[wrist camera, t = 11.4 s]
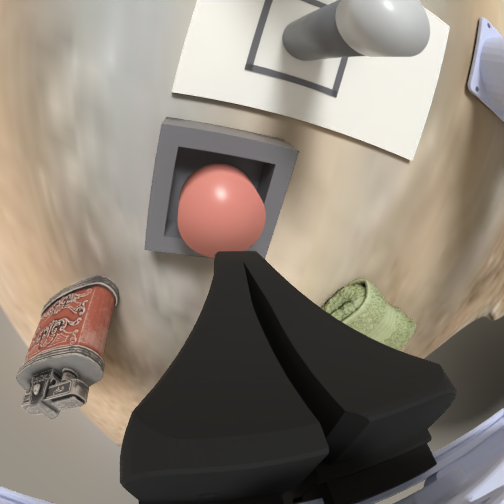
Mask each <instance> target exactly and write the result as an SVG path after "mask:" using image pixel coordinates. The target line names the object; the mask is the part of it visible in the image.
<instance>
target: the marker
mask: <svg viewBox="0 0 504 504" xmlns="http://www.w3.org/2000/svg"><path fill="white" fill-rule="evenodd" d="M429 37H430V24H429V19H428V16H427V14H426V11H425V9H424V7H423V6H422V4H421V3H420V1H419V0H338V1H335V2H333V3H331V4H328V5H326V6H324V7H322V8H320V9H317V10H315V11H313V12H311V13H309V14H307V15H305V16H303V17H301V18H299V19H297V20H295V21H293V22H291V23H290V24H288V25H287V26H286V28H285V29H284V32H283V36H282V40H283V44H284V47H285V49H286V50H287V52H288V53H289V54H290V55H292V56H293V57H294V58H296V59H299V60H303V61H311V60H320V59H329V58H341V57H356V56H369V57H412V56H416V55H418V54H420V53H421V52H422V51H423V50H424V49H425V47H426V46H427V44H428V41H429Z"/></svg>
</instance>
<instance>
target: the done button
mask: <svg viewBox="0 0 504 504" xmlns="http://www.w3.org/2000/svg"><path fill="white" fill-rule="evenodd" d="M265 219H266V212H265V207H264V204H263V201H262V199H261V198H260V196H259V194H258V192H257V191H256V189H255V187H254V185H253V184H252V182H251V180H250V179H249V178H248V176H247V175H246V174H245V173H244V172H242V171H241V170H240V169H238V168H236V167H234V166H231V165H227V164H210V165H207V166H204V167H201V168H199V169H198V170H196V171H195V172H193V173H192V174H191V175H190V176H189V177H188V178H187V179H186V181H185V182H184V184H183V186H182V188H181V191H180V195H179V206H178V228H179V232H180V235H181V237H182V238H183V240H184V241H185V243H186V244H187V245H188V246H189V247H190V248H191V249H192V250H194V251H195V252H197V253H199V254H201V255H203V256H207V257H211V258H215V254H216V253H217V252H218V251H246V250H247V249H249V248H250V247H251V246H252V245H253V244H254V243H255V242H256V241H257V240H258V238H259V237H260V235H261V233H262V231H263V229H264V225H265Z"/></svg>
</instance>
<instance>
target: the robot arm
mask: <svg viewBox="0 0 504 504" xmlns="http://www.w3.org/2000/svg"><path fill="white" fill-rule="evenodd" d="M475 88H476V89H475ZM468 89H469V91H470V92H472V93H473V94H474V95H475V96H476V97H477V98H479V99H480V100H481V101H482V102H483V103H484V104H485V105H486V106H487V107H488V108H490V109H491V110H492V111H493V112H494V113H495V114H496V115H497V116H498V117H499V118H500V119H501V120H502V121H503V122H504V37H503V36H502V35H501V34H500V33H499V32H498V31H497V30H496V29H495V28H494V26H493V25H492V24H491V23H490V22H489V21H488V20H487V19H486V18H485V17H481V18H480V21H479V28H478V35H477V41H476V47H475V52H474V57H473V62H472V67H471V71H470V76H469V80H468ZM455 396H456V389H455V387H454V386H453V384H452V382H451V381H450V379H449V378H448V376H447V375H446V373H445V372H444V370H443V369H442V367H441V366H440V365H439V364H437V363H433V362H431V361H428V360H424V359H421V358H418V357H415V356H412V355H409V354H406V353H404V352H401V351H399V350H396V349H394V348H392V347H389V346H387V345H385V344H382V343H380V342H378V341H376V340H374V339H372V338H370V337H368V336H366V335H364V334H362V333H360V332H359V331H357V330H355V329H353V328H351V327H349V326H348V325H346V324H344V323H343V322H341V321H339V320H338V319H336V318H335V317H333V316H332V315H330V314H329V313H327V312H326V311H324V310H323V309H321V308H320V307H319V306H317V305H316V304H315V303H313V302H312V301H311V300H309V299H308V298H307V297H306V296H304V295H303V294H302V293H301V292H299V291H298V290H297V289H296V288H295V287H294V286H292V285H291V284H290V283H289V282H288V281H287V280H286V279H285V278H284V277H282V276H281V275H280V274H279V273H278V272H277V271H276V270H275V269H274V268H273V267H272V266H271V265H270V264H269V263H268V262H267V261H266V260H265V259H264V258H263V257H262V256H261V255H260V254H259V253H258V252H256V251H218V252H217V253H216V254H215V260H214V276H213V280H212V283H211V287H210V290H209V293H208V296H207V298H206V301H205V304H204V306H203V309H202V311H201V313H200V316H199V318H198V320H197V322H196V324H195V326H194V328H193V330H192V332H191V333H190V335H189V337H188V339H187V340H186V342H185V344H184V346H183V347H182V349H181V350H180V352H179V354H178V355H177V357H176V358H175V360H174V361H173V362H172V364H171V365H170V366H169V368H168V369H167V371H166V372H165V373H164V375H163V376H162V378H161V379H160V380H159V381H158V383H157V384H156V385H155V386H154V388H153V389H152V390H151V391H150V392H149V393H148V395H147V396H146V397H145V398H144V399H143V400H142V401H141V403H140V404H139V405H138V406H137V407H136V408H135V409H134V410H133V412H132V414H131V417H130V420H129V423H128V425H127V428H126V432H125V435H124V438H123V443H122V448H121V455H120V483H121V484H122V486H123V487H124V488H125V489H126V490H127V491H128V492H129V493H131V494H132V495H133V496H134V497H136V498H137V499H138V500H139V504H375V503H377V502H380V501H382V500H384V499H386V498H389V497H391V496H393V495H395V494H397V493H400V492H402V491H404V490H406V489H408V488H410V487H412V486H414V485H416V484H418V483H419V482H421V481H423V480H425V479H426V481H425V483H424V487H423V488H422V489H421V490H419V491H417V492H415V493H413V494H411V495H409V496H408V497H406V498H404V499H402V500H400V501H398V502H396V503H394V504H504V408H503V409H501V410H500V411H498V412H497V413H496V414H494V415H493V416H492V417H490V418H489V419H487V420H486V421H485V422H483V423H482V424H480V425H479V426H477V427H476V428H475V429H473V430H471V431H470V432H468V433H466V434H465V435H463V436H462V437H460V438H459V439H457V440H455V441H453V442H452V443H450V444H448V445H447V446H445V447H443V448H441V449H440V450H438V451H436V452H434V453H432V452H431V451H430V449H429V447H428V445H427V443H428V442H429V441H431V435H430V433H429V431H428V430H427V429H428V428H429V427H430V426H431V425H432V424H433V423H434V422H435V421H436V420H437V419H438V418H439V417H440V416H441V415H442V414H443V413H444V412H445V411H446V410H447V409H448V407H449V406H450V405H451V404H452V402H453V401H454V399H455ZM0 504H56V503H52V502H48V501H44V500H41V499H37V498H34V497H31V496H27V495H24V494H21V493H18V492H15V491H13V490H10V489H7V488H4V487H2V486H0Z"/></svg>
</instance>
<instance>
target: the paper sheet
mask: <svg viewBox="0 0 504 504" xmlns="http://www.w3.org/2000/svg"><path fill="white" fill-rule="evenodd" d="M335 1H338V0H197V3H196V6H195V9H194V12H193V16H192V19H191V22H190V25H189V29H188V32H187V35H186V39H185V42H184V46H183V50H182V53H181V57H180V61H179V65H178V69H177V73H176V77H175V81H174V85H173V89H172V92H174V93H181V94H187V95H193V96H199V97H205V98H210V99H215V100H221V101H225V102H230V103H235V104H240V105H244V106H248V107H253V108H257V109H261V110H265V111H269V112H273V113H277V114H280V115H284V116H288V117H291V118H295V119H298V120H302V121H305V122H308V123H312V124H315V125H318V126H321V127H324V128H327V129H330V130H333V131H336V132H339V133H342V134H345V135H348V136H351V137H353V138H356V139H359V140H362V141H364V142H367V143H369V144H372V145H375V146H377V147H380V148H382V149H385V150H387V151H390V152H392V153H394V154H397V155H399V156H401V157H404V158H406V159H408V160H411V161H412V160H413V157H414V155H415V152H416V149H417V146H418V143H419V140H420V137H421V134H422V131H423V128H424V125H425V122H426V119H427V116H428V112H429V109H430V106H431V102H432V99H433V95H434V92H435V88H436V85H437V81H438V77H439V73H440V69H441V65H442V61H443V57H444V52H445V48H446V43H447V38H448V33H449V28H450V27H449V26H448V25H447V24H445V23H444V22H443V21H442V20H440V19H439V18H438V17H437V16H435V15H434V14H433V13H431V12H430V11H429V10H427V9H426V8H424V9H425V11H426V14H427V16H428V19H429V24H430V37H429V41H428V44H427V46H426V47H425V49H424V50H423V51H422V52H421V53H420V54H418V55H416V56H412V57H369V56H356V57H341V58H329V59H320V60H311V61H303V60H299V59H296V58H294V57H293V56H292V55H290V54H289V53H288V52H287V50H286V49H285V47H284V44H283V40H282V36H283V32H284V29H285V28H286V26H287V25H288V24H290V23H291V22H293V21H295V20H297V19H299V18H301V17H303V16H305V15H307V14H309V13H311V12H313V11H315V10H317V9H320V8H322V7H324V6H326V5H328V4H331V3H333V2H335Z"/></svg>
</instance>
